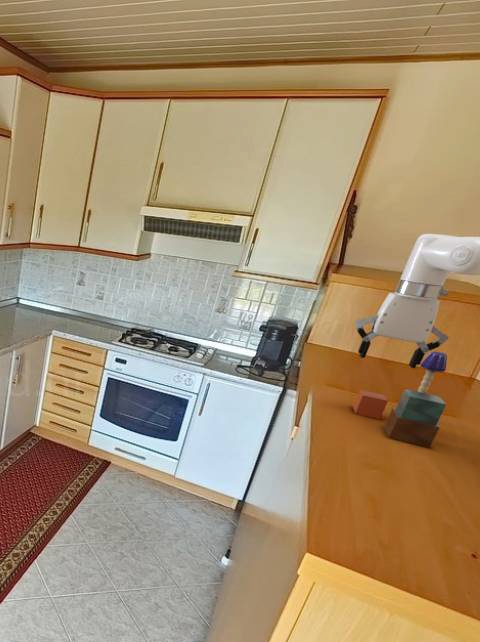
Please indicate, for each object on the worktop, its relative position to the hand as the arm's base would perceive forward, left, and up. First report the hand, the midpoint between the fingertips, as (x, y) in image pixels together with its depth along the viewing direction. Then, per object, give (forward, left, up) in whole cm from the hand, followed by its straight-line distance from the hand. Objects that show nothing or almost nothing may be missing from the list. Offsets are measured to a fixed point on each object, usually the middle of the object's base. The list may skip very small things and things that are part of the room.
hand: (386, 361), depth 117 cm
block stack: (-6, +12, -14) cm, 19 cm away
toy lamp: (-10, -8, -14) cm, 19 cm away
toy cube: (0, 0, -14) cm, 14 cm away
